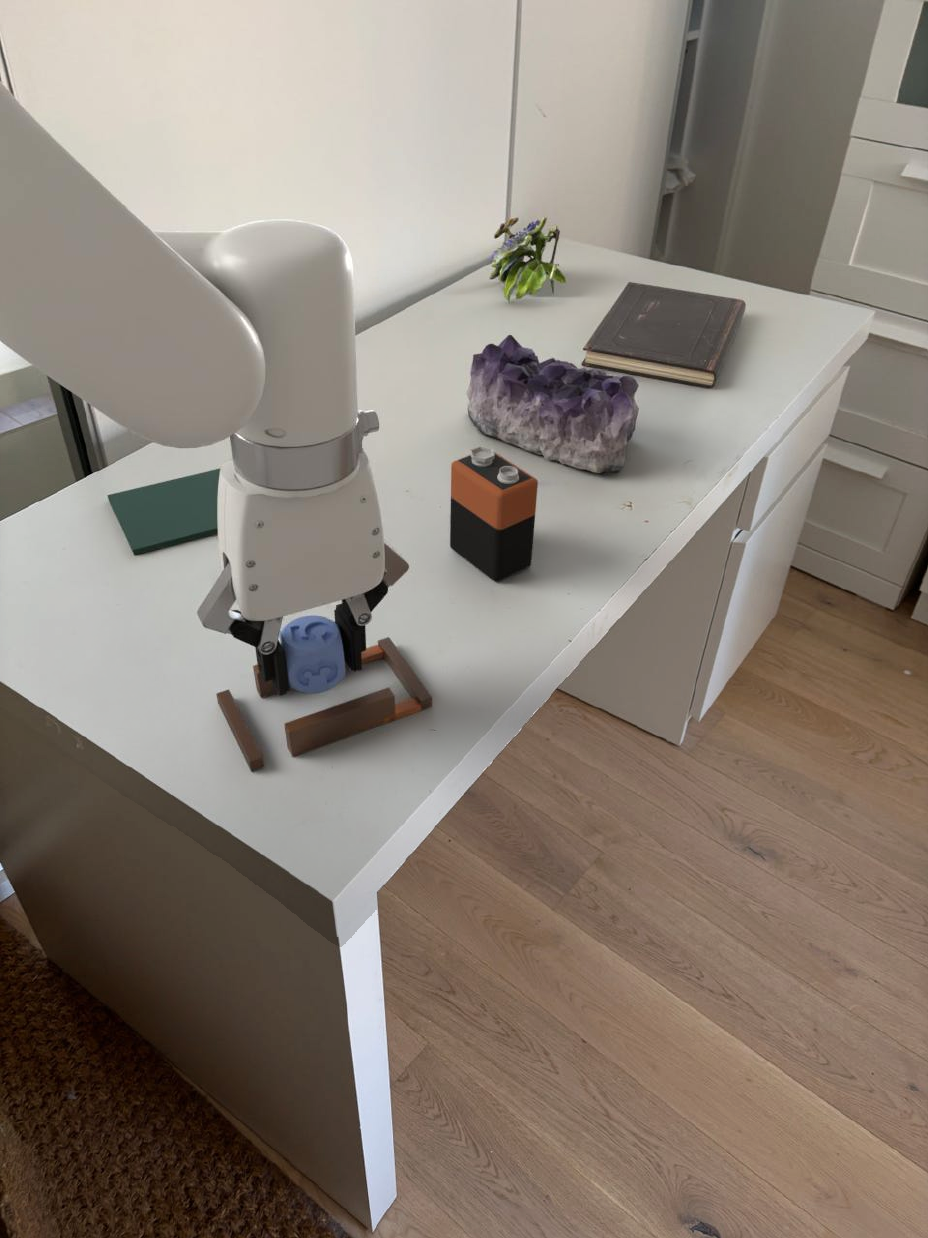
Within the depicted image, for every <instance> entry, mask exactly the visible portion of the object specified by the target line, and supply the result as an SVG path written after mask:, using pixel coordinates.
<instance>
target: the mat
mask: <svg viewBox="0 0 928 1238" xmlns="http://www.w3.org/2000/svg"><path fill="white" fill-rule="evenodd" d="M219 475H220V468H215V469H211V470H207V471H203V472H199V473H194V474H191V475H186V476H183V477H178V478H173V479H169V480H165V481H162V482H161V481H160V482H157V483H153V484H148V485H144V486H139V487H136V488H131V489H128V490H127V489H126V490H122V491H119V492H115V493H111V494H108V495H107V499H108V502H109V504H110V506H111V508H112V510H113V513H114V515H115V518H116V519H117V522H118V523H119V525H120V528H121V530H122V532H123V534H124V536H125V538H126V541H127V543H128V546H129V547H130V550H131V552H132V553H133V555H134V556H136V555H140V554H144V553H148V552H151V551H156V550H160V549H163V548H167V547H171V546H175V545H179V544H182V543H185V542H186V543H187V542H190V541H194V540H198V539H202V538H206V537H209V536H212V535H213V536H214V535H216V534H217V535H218V521H217V499H218V483H219Z"/></svg>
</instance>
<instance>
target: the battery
mask: <svg viewBox="0 0 928 1238" xmlns="http://www.w3.org/2000/svg"><path fill="white" fill-rule="evenodd" d="M538 486H539V481H538V479H537V478H536V477H535V476H534V475H532V474H530V473H528V472H527V471H525V470H524V469H522V468H520V467H519V466H518V465H516V464H514V463H513V462H512V461H509V460H508V459H506V458H505V457H503V456H501V455H500V454H499V453H497V452H495V451H494V450H493V448H491V447H486V446H484V445H483V446H482V445H478V446H476V447H473V448H472V449H470V450H469V455H466V456H464V457H461V458H458V459H456V460H454V461H452V462H451V464H450V517H449V518H450V519H449V520H450V521H449V522H450V523H449V547H450V549H452V550H453V551H454V552H455V553H456V554H458V555H459V556H460V557H462V558H463V559H464V560H466V561H467V562H468V563H470V564H471V565H472V566H473V567H475V568H476V569H478V570H479V571H480V572H481V573H483V574H484V575H486V577H488V578H490V579H491V580H492V581H493V582H496V583H497V582H500V581H502V580H504V579H507V578H508V577H510V576H512V575H514V574H518V573H519V572H522V571H523V570H525V569H527V568H529V567H530V566H531V565H532V560H533V547H534V535H535V525H536V522H535V521H536V513H537V511H536V509H537V499H538V498H537V497H538Z"/></svg>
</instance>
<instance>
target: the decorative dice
mask: <svg viewBox="0 0 928 1238" xmlns="http://www.w3.org/2000/svg"><path fill="white" fill-rule="evenodd" d="M279 638H280V639H279V642H280V644H281V645H282V647H283V649H284V651H285V654H286V663H287V673H288V683H289V686H290V687H291V688H290V689H293V690H295V691H297V692H301V693H305V694H321V693H324V692H327V691H329V690H331V689H333V688H334V687H336V686H337V685H338V684H340V682H342V680H344V678H345V677H346V670H345V660H344V651H343V645H342V639H341V634H340V630H339V627H338V624H336V623H335V620H334V621H333V620H332V619H330V618H328V617H326V616H321V615H315V614H314V615H312V614H311V615H305V616H300V617H299V616H298V617H297V618H295V619H293V620H291V621H290V622H288V623H287V624H285V625H284V627H282V628H281V629H280V633H279Z"/></svg>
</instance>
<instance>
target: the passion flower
mask: <svg viewBox="0 0 928 1238" xmlns="http://www.w3.org/2000/svg"><path fill="white" fill-rule="evenodd" d="M547 220H548V217H546V216H543V217H542V219H541V220H539V219H537V220H536V221H531V222H530V223H528V225H527V226H526V227H524V228H523V229H521V231H518V232H516V233H515V234H513V233H512V232H511V230H510V229H511V228H512V227H513V226H514V225H515V224H517V223H518V222H519V217H515V218H513V217H511V218H509V219H508V221H506V222H503V223H501V224H500V226H499V228H498V229H497V231H495V232H494V234H493V235H494V237H493V238H494V239H498V238H500V237H501V236H502V235H503V234H507V235H508V239H507V240H506V241H503V242H502V244H501V246H500V247H499V248H496V250H494V251H493V252H492V254H491V256H490V258H491V259H490V260H488V262H490V263H488V265H491V267H492V268H494V270H493V271H492V272H491V273H490V275H489V277H488V279H489V280H495V279H496V278H497V279H498V280H499V282H502V283H505V284H504V288H503V294H504V298H505V299H506V300H507V301H508V303H509V304H510V303H511V299H512V295H513V294H514V291H515V290H516V291H515V299H516V300H520V299H523V297H526V295H534V294H535V293H537V292H539V290H540V289H541V288H542V287H543V286H544V284H545V282H546V280H547V276H548V278H549V279H548V280H549V281H550V287H551V292H552V294H554V293H555V281H557V282H558V283H562V284H566V283H567V279H566V277H565V275H564V274H563V272H562V271H561V270H560V269H559V268H558V267H560V266H561V264H560V263H555V258H556V252H557V247H558V243H559V239H560V233H561V231H560V229H559V228H558V225H557V224H553V226H552V227H551V228H549V229H548V230H547V231H548V232H547V233H543V232H542V231H543V229H544V228H545V225H546V223H547ZM553 239H554V245H553V249H552V255H551V260H550V261H549V262H548V261H547V262H545V261H544V260H543V254H544V252H545V250H546V247H547V244H548V243H550V242H552V240H553ZM533 246H535V250H534V248H533ZM525 257H527V258H529V259H528V260H527V261H524V259H525Z"/></svg>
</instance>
